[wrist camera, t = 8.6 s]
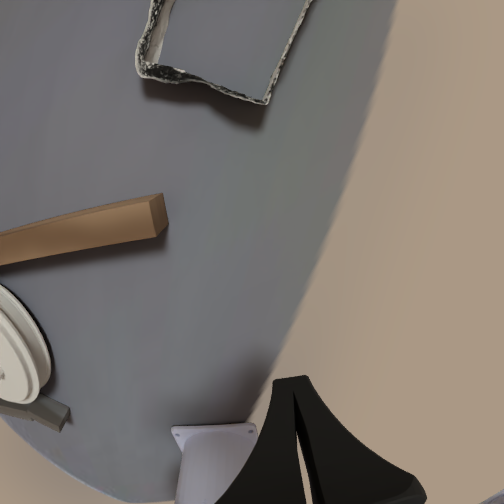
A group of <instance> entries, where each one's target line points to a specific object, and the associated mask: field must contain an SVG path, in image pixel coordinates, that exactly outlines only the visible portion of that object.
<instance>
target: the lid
mask: <svg viewBox="0 0 504 504" xmlns="http://www.w3.org/2000/svg"><path fill="white" fill-rule="evenodd" d="M50 374H51V360H50V356H49V352H48V349H47V346H46V343H45V341H44V339H43V336H42V334H41V333H40V331H39V329H38V327H37V325H36V324H35V322H34V320H33V319H32V317H31V316H30V315H29V313H28V312H27V310H26V309H25V308H24V307H23V305H22V304H21V303H20V302H19V301H18V300H17V299H16V298H15V297H14V296H13V295H12V294H11V293H10V292H9V291H8V290H7V289H6V288H4V287H3V286H2V285H0V398H2V399H4V400H6V401H10V402H15V403H20V404H27V403H31V402H32V401H34V400H35V399H36V398H37V396H38V394H39V391H40V388H41V387H43V386H44V385H45V384H46V383H47V381H48V380H49V378H50Z"/></svg>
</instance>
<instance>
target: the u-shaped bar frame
mask: <svg viewBox="0 0 504 504" xmlns="http://www.w3.org/2000/svg"><path fill="white" fill-rule="evenodd" d="M168 224H169V223H168V218H167V213H166V208H165V203H164V197H163V193H160V194H155V195H150V196H145V197H140V198H135V199H130V200H125V201H120V202H116V203H111V204H107V205H102V206H98V207H94V208H89V209H85V210H81V211H77V212H73V213H69V214H65V215H61V216H57V217H53V218H49V219H46V220H42V221H38V222H35V223H31V224H27V225H24V226H20V227H17V228H13V229H10V230H7V231H3V232H0V265H4V264H9V263H14V262H19V261H24V260H29V259H34V258H40V257H45V256H50V255H55V254H61V253H66V252H71V251H77V250H82V249H88V248H94V247H99V246H105V245H111V244H117V243H122V242H128V241H134V240H140V239H146V238H152V237H157V235H158V234H159V233H160V232H161V231H162V230H163V229H164V228H165V227H166V226H167V225H168ZM0 413H2V414H5V415H9V416H13V417H17V418H21V419H25V420H30V421H33V420H36V421H37V422H39V423H41V424H43V425H45V426H47V427H49V428H51V429H53V430H55V431H57V432H59V433H60V432H61V430H62V428H63V426H64V424H65V422H66V421H67V419H68V417H69V415H70V408H69V407H67V406H65V405H63V404H61V403H59V402H57V401H55V400H53V399H51V398H49V397H47V396H45V395H43V394H41V393H39V394H38V396H37V398H36V399H35V400H34V401H32V402H31V403H27V404H20V403H15V402H10V401H6V400H4V399H2V398H0Z"/></svg>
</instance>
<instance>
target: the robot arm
mask: <svg viewBox="0 0 504 504" xmlns="http://www.w3.org/2000/svg"><path fill="white" fill-rule="evenodd" d="M296 431H297V433H296ZM171 432H172V434H173V436H174V438H175V440H176V442H177V444H178V446H179V447H180V449H181V451H182V453H183V454H182V460H181V466H180V472H179V478H178V485H177V491H176V497H175V504H306V498H305V493H304V488H303V481H302V476H301V470H300V464H299V458H298V452H297V435H298V439H299V443H300V446H301V450H302V454H303V458H304V461H305V465H306V469H307V473H308V477H309V482H310V488H311V495H312V502H313V504H424V503H425V502H426V499H427V496H426V493H425V491H424V489H423V487H422V485H421V484H420V482H419V481H418V480H417V478H416V477H415V476H414V475H412V474H410V473H408V472H406V471H404V470H402V469H400V468H398V467H396V466H395V465H393V464H391V463H390V462H388V461H386V460H385V459H383V458H382V457H380V456H379V455H377V454H376V453H375V452H373V451H372V450H370V449H369V448H368V447H366V446H365V445H364V444H363V443H361V442H360V441H359V440H358V439H357V438H355V437H354V436H353V435H352V434H351V433H350V432H349V431H348V430H347V429H346V428H345V427H344V426H343V425H342V424H341V423H340V422H339V421H338V419H337V418H336V417H335V416H334V415H333V414H332V413H331V411H330V410H329V409H328V407H327V406H326V405H325V403H324V402H323V401H322V399H321V398H320V396H319V395H318V393H317V392H316V390H315V389H314V387H313V385H312V383H311V381H310V379H309V377H308V376H306V375H302V376H295V377H289V378H282V379H275V380H274V381H273V387H272V395H271V401H270V405H269V409H268V412H267V416H266V419H265V422H264V425H263V427H262V430H261V433H260V435H259V437H258V433H257V429H256V425H255V424H254V423H240V424H226V425H207V426H173V427H172V428H171ZM479 504H504V489H503V490H501V491H500V492H498V493H497V494H495V495H493V496H492V497H490V498H488V499H487V500H485V501H483V502H481V503H479Z"/></svg>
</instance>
